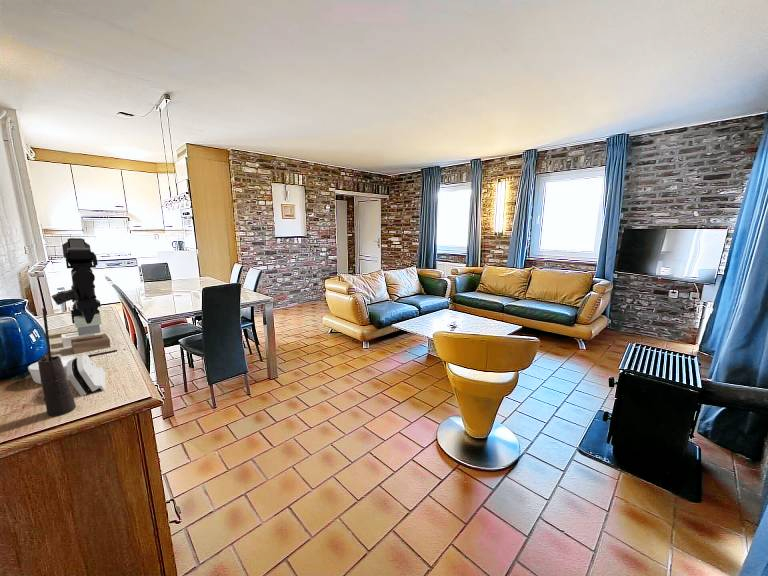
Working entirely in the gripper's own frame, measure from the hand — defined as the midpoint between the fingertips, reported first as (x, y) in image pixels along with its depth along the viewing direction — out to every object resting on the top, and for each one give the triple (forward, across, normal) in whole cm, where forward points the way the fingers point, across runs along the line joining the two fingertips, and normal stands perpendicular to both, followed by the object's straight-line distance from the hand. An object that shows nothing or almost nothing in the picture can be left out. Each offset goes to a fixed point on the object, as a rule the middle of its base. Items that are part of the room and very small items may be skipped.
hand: (88, 322), depth 117 cm
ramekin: (+12, +22, -10) cm, 27 cm away
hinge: (+12, +35, -5) cm, 37 cm away
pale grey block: (+4, 0, 0) cm, 4 cm away
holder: (+12, -11, -2) cm, 16 cm away
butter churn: (+12, +48, -12) cm, 51 cm away
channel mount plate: (+12, 0, 0) cm, 12 cm away
